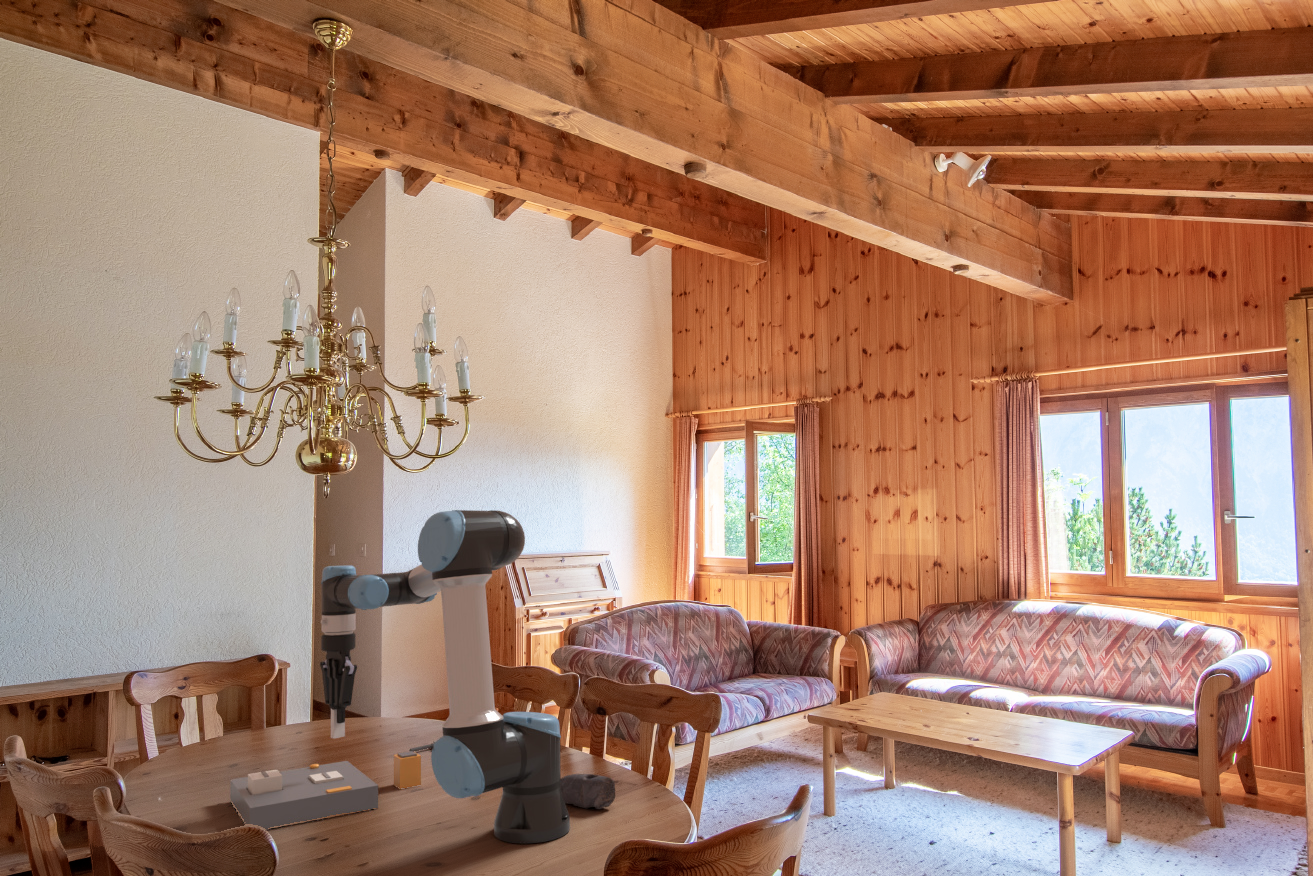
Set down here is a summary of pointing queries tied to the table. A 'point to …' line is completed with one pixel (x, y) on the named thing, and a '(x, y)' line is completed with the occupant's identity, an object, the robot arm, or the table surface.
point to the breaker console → (305, 796)
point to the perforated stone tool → (588, 790)
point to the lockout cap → (407, 769)
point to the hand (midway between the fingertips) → (337, 737)
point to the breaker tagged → (325, 777)
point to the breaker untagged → (264, 782)
